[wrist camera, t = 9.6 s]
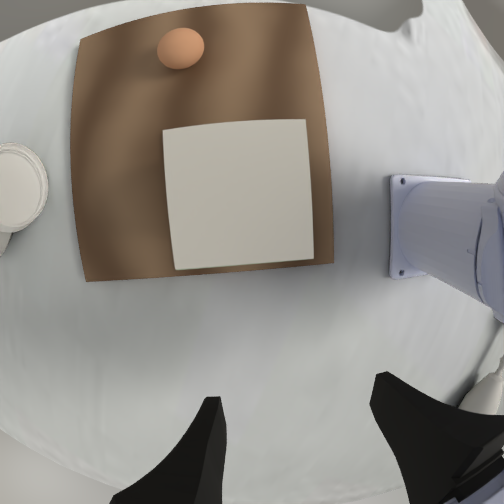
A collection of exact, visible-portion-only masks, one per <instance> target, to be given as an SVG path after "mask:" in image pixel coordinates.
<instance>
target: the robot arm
mask: <svg viewBox="0 0 504 504" xmlns="http://www.w3.org/2000/svg"><path fill="white" fill-rule="evenodd" d="M401 178H402V180H403V184H401V182H400V179H401ZM390 194H391V249H390V269H389V275H390V277H391V278H393V279H403V278H409V277H415V276H421V275H427V274H429V275H431V276H433V277H435V278H437V279H439V280H441V281H443V282H445V283H447V284H448V285H450V286H452V287H454V288H456V289H458V290H460V291H461V292H463V293H465V294H467V295H469V296H471V297H472V298H474V299H476V300H478V301H479V302H481V303H483V304H485V305H486V306H488V307H490V308H491V309H492V310H493V313H494V318H496V319H497V320H499V321H501V322H502V323H504V171H503V173H502V174H501V176H500V178H499V179H498V180H497V182H496V184H488V183H472V182H471V181H470V180H467V179H458V178H446V177H434V176H418V175H398V174H396V175H392V176H391V178H390ZM400 270H402V272H401V274H399V272H400ZM370 407H371V410H372V413H373V415H374V418H375V420H376V422H377V424H378V426H379V428H380V430H381V431H382V433H383V435H384V437H385V439H386V440H387V442H388V444H389V446H390V447H391V449H392V451H393V453H394V455H395V457H396V460H397V462H398V465H399V468H400V470H401V473H402V476H403V480H404V483H405V486H406V490H407V494H408V498H409V503H410V504H504V458H503V457H502V455H503V454H504V451H503V450H502V449H501V448H502V447H503V445H504V415H487V414H480V413H474V412H469V411H466V410H462V409H458V408H455V407H452V406H450V405H447V404H444V403H442V402H440V401H437V400H435V399H433V398H431V397H429V396H427V395H426V394H424V393H422V392H420V391H418V390H417V389H415V388H413V387H412V386H410V385H409V384H407V383H405V382H404V381H402V380H401V379H399V378H397V377H396V376H394V375H393V374H391V373H389V372H388V371H386V372H383V373H379V374H376V378H375V382H374V387H373V391H372V395H371V400H370ZM226 445H227V433H226V421H225V417H224V412H223V407H222V402H221V397H220V396H218V397H206V398H205V399H204V401H203V403H202V405H201V407H200V409H199V411H198V413H197V415H196V417H195V418H194V420H193V422H192V423H191V425H190V427H189V428H188V430H187V431H186V433H185V434H184V435H183V437H182V438H181V440H180V441H179V442H178V444H177V445H176V446H175V447H174V448H173V450H172V451H171V452H170V453H169V454H168V455H167V456H166V457H165V458H164V459H163V460H162V461H161V462H160V463H159V464H158V465H157V466H156V467H155V468H154V469H153V470H152V471H150V472H149V473H148V474H146V475H145V476H144V477H142V478H141V479H140V480H138V481H137V482H136V483H134V484H133V485H131V486H129V487H128V488H126V489H124V490H122V491H121V492H119V493H117V494H115V495H113V497H112V500H111V501H110V503H109V504H222V481H223V472H224V463H225V454H226Z"/></svg>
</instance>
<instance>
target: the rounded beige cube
mask: <svg viewBox="0 0 504 504" xmlns="http://www.w3.org/2000/svg"><path fill="white" fill-rule="evenodd" d="M163 150H164V167H165V181H166V194H167V205H168V215H169V224H170V233H171V242H172V249H173V257H174V264H175V269H186V268H200V267H213V266H227V265H239V264H252V263H265V262H277V261H289V260H301V259H312V258H314V247H313V216H312V196H311V179H310V165H309V152H308V140H307V129H306V119H276V120H251V121H236V122H224V123H213V124H204V125H196V126H188V127H181V128H174V129H168V130H163Z"/></svg>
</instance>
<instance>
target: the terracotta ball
mask: <svg viewBox="0 0 504 504" xmlns="http://www.w3.org/2000/svg"><path fill="white" fill-rule="evenodd" d="M203 51H204V42H203V39H202V37H201V36H200V35H199V34H198V33H197V32H196V31H194V30H192V29H189V28H177V29H174V30H171V31H169V32H168V33H166V34H165V35H164V36H163V37H162V38H161V40H160V41H159V44H158V47H157V54H158V57H159V60H160V61H161V62H162V63H163V64H164V65H165V66H167V67H169V68H172V69H185V68H188V67H190V66H192V65H194V64H195V63H196V62H197V61H198V60H199V59H200V58H201V56H202V54H203Z"/></svg>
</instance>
